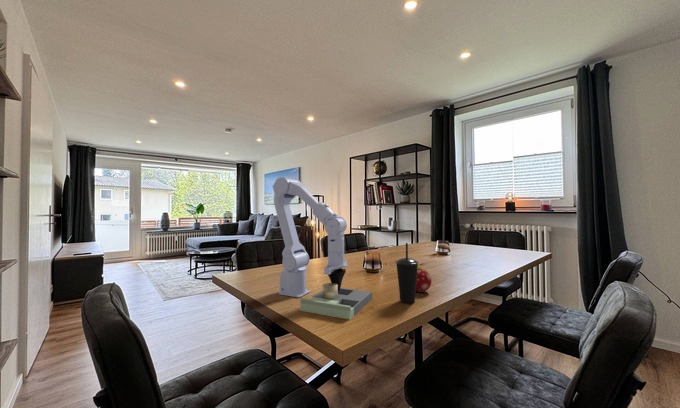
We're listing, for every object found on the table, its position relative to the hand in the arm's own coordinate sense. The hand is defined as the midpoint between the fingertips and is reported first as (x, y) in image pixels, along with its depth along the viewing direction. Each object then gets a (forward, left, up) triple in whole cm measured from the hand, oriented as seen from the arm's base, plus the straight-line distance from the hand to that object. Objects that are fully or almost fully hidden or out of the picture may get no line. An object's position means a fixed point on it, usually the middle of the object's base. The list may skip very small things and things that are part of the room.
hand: (336, 290), depth 98 cm
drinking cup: (+23, +8, -3) cm, 25 cm away
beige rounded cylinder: (0, -5, -1) cm, 5 cm away
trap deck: (+2, -4, -3) cm, 6 cm away
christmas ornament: (+25, +21, -3) cm, 33 cm away
